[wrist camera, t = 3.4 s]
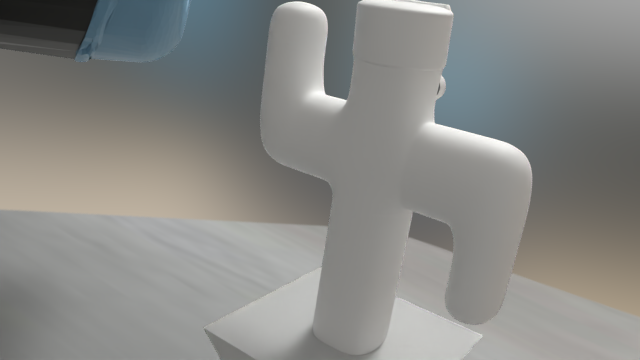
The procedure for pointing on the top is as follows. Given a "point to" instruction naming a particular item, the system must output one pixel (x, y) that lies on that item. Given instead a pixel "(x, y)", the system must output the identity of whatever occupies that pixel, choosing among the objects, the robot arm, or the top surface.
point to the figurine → (380, 193)
